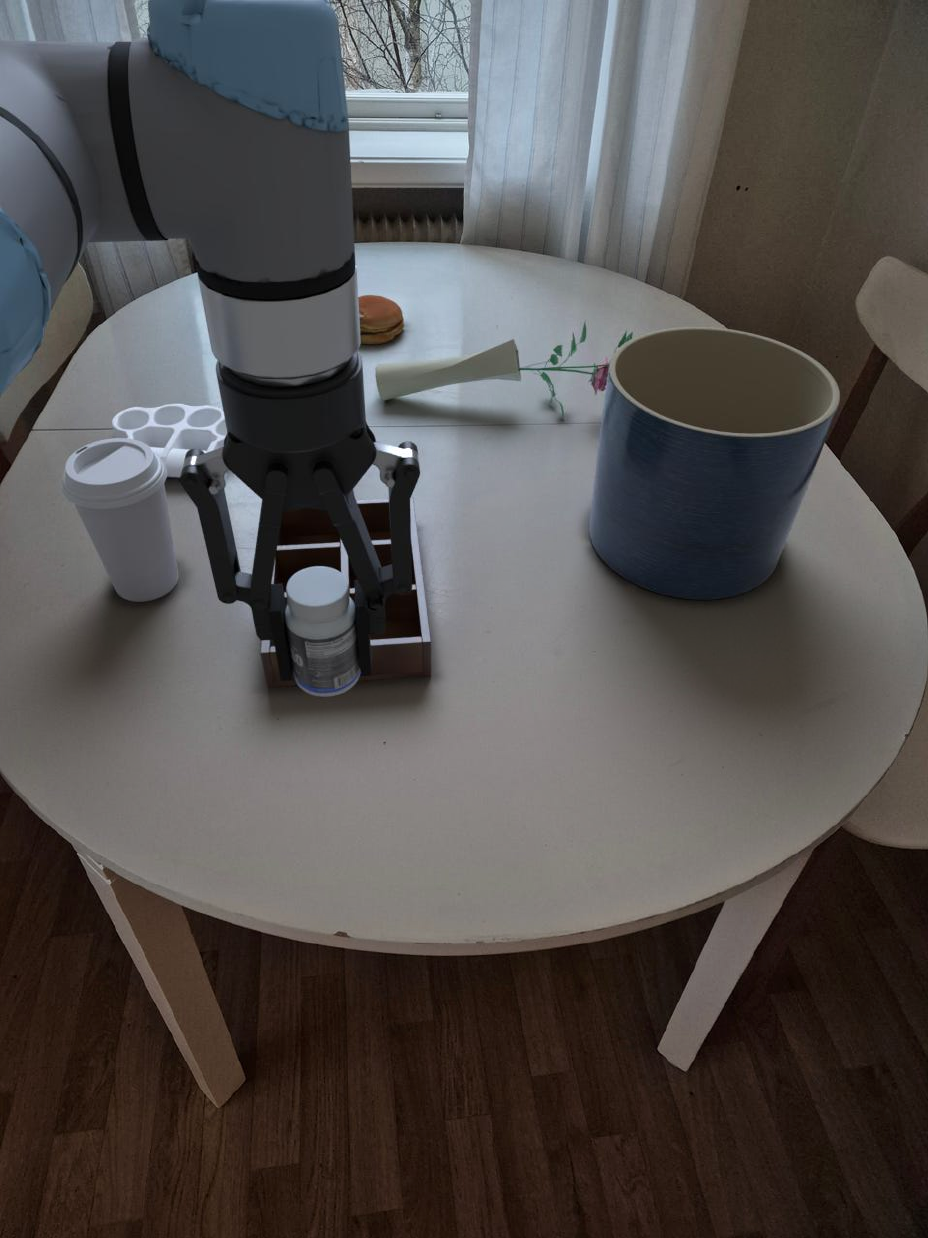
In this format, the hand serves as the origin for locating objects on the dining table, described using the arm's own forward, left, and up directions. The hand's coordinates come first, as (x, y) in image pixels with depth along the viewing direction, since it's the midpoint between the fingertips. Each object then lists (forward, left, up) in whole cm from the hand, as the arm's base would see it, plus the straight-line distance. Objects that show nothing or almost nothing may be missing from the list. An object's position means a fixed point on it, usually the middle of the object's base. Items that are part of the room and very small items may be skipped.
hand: (326, 663), depth 60 cm
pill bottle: (0, 0, -1) cm, 1 cm away
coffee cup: (-20, +30, -17) cm, 40 cm away
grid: (+1, +25, -16) cm, 30 cm away
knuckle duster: (-19, +55, -17) cm, 60 cm away
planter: (+39, +32, -17) cm, 53 cm away
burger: (+6, +87, -17) cm, 88 cm away
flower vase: (+23, +63, -17) cm, 69 cm away
